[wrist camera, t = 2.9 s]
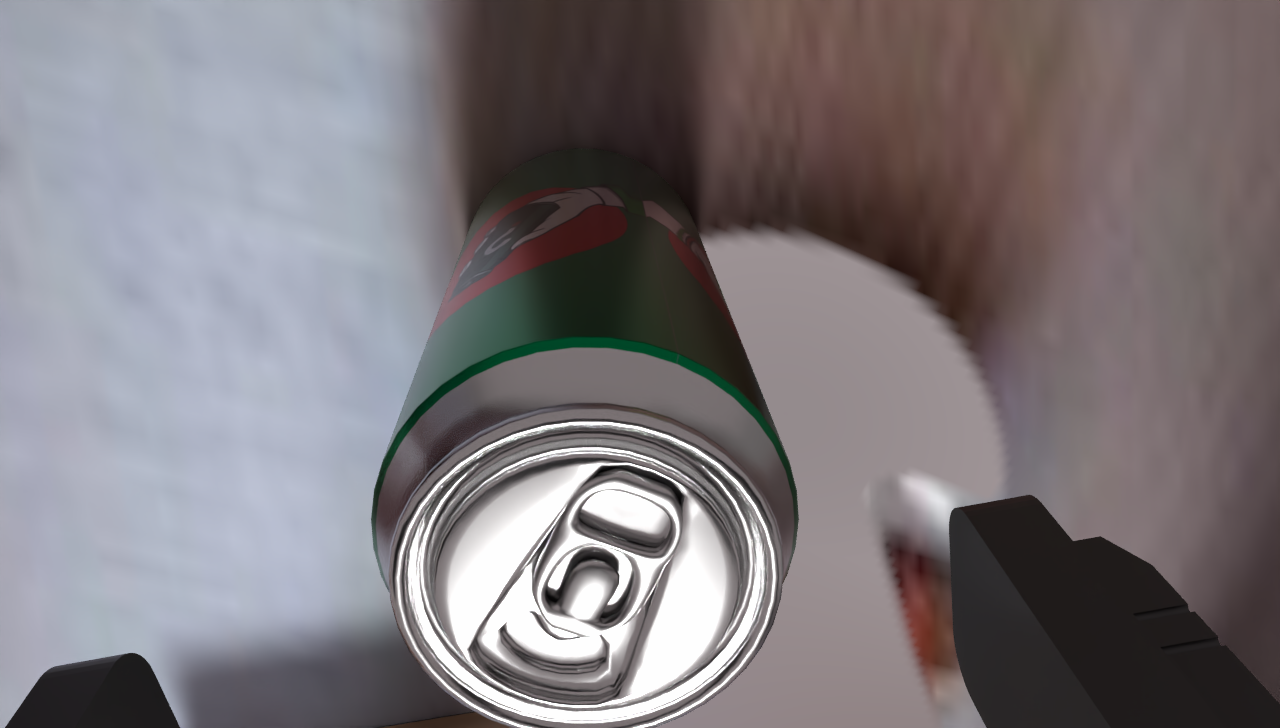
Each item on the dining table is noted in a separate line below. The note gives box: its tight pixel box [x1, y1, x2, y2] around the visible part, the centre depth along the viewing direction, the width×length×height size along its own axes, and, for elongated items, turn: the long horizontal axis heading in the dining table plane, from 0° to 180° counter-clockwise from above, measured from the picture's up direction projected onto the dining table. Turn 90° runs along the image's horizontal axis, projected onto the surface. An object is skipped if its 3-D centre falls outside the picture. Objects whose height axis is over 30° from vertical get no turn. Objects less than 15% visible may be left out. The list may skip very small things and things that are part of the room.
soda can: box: [371, 149, 799, 728], centre depth 16 cm, size 5×5×12 cm
